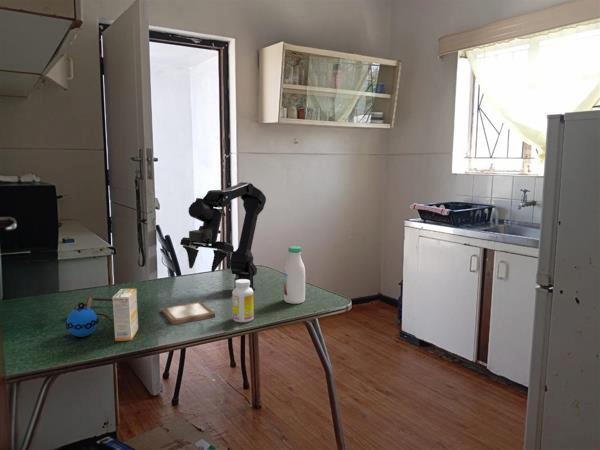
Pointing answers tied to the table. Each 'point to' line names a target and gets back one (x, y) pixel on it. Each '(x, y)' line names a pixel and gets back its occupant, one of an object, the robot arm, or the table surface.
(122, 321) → the supplement box
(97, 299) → the eyeglasses
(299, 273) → the milk bottle
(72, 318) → the ornament
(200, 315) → the walnut picture frame
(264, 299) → the table surface
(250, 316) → the supplement bottle
